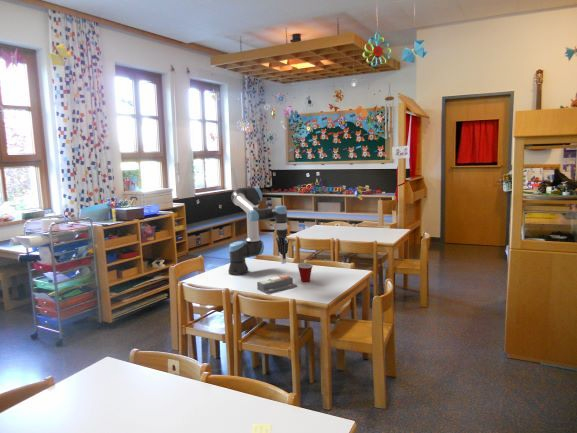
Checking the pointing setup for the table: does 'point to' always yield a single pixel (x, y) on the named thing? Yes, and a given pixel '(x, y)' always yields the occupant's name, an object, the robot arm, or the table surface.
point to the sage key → (265, 282)
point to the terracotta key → (284, 277)
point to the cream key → (274, 279)
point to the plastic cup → (305, 271)
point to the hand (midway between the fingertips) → (283, 263)
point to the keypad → (276, 286)
